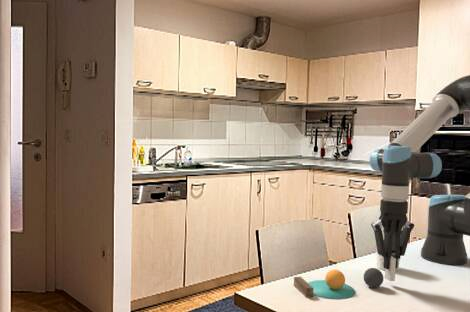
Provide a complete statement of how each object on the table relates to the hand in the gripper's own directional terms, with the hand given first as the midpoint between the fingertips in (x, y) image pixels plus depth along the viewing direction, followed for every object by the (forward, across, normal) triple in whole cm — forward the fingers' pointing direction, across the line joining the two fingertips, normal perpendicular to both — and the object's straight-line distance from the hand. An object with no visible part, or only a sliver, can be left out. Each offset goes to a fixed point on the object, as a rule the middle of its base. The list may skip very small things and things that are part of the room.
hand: (389, 279), depth 132 cm
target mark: (+2, +19, 0) cm, 19 cm away
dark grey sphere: (-1, +6, 0) cm, 6 cm away
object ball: (-1, +17, 0) cm, 17 cm away
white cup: (+2, -9, -15) cm, 18 cm away
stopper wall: (+2, +27, 0) cm, 27 cm away
